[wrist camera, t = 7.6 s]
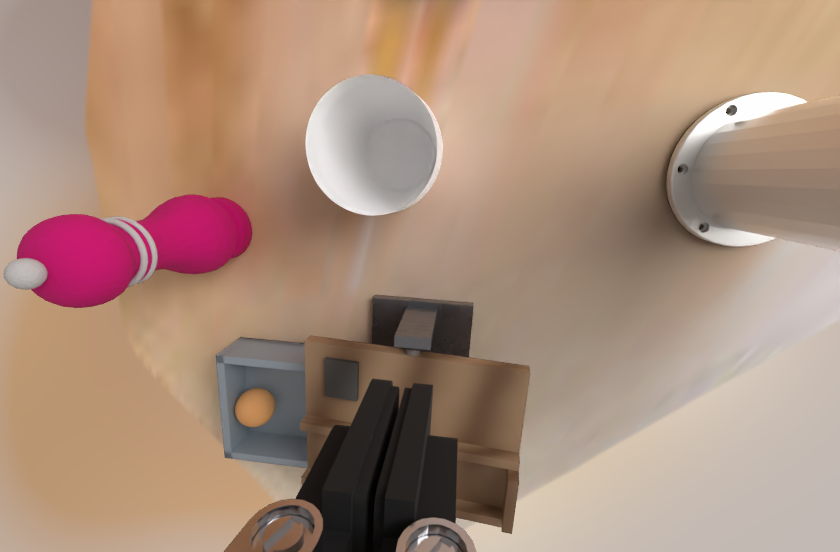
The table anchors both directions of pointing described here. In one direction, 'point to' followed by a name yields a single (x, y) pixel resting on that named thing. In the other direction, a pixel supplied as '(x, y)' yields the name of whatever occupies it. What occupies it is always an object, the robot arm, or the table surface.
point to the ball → (255, 407)
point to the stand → (422, 324)
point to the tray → (451, 412)
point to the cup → (373, 145)
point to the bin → (285, 380)
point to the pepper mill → (126, 249)
